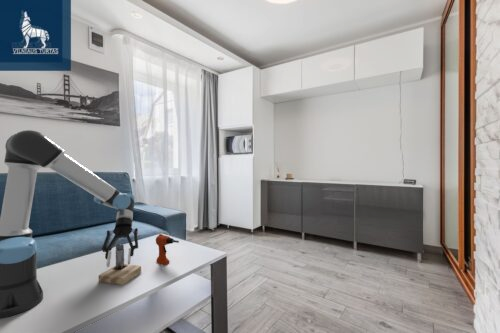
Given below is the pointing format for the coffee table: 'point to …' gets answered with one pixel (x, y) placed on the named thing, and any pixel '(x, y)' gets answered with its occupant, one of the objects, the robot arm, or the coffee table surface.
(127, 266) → the block
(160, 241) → the toy drill
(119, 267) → the metal round-headed rod
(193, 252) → the coffee table surface
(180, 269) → the coffee table surface
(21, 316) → the coffee table surface
